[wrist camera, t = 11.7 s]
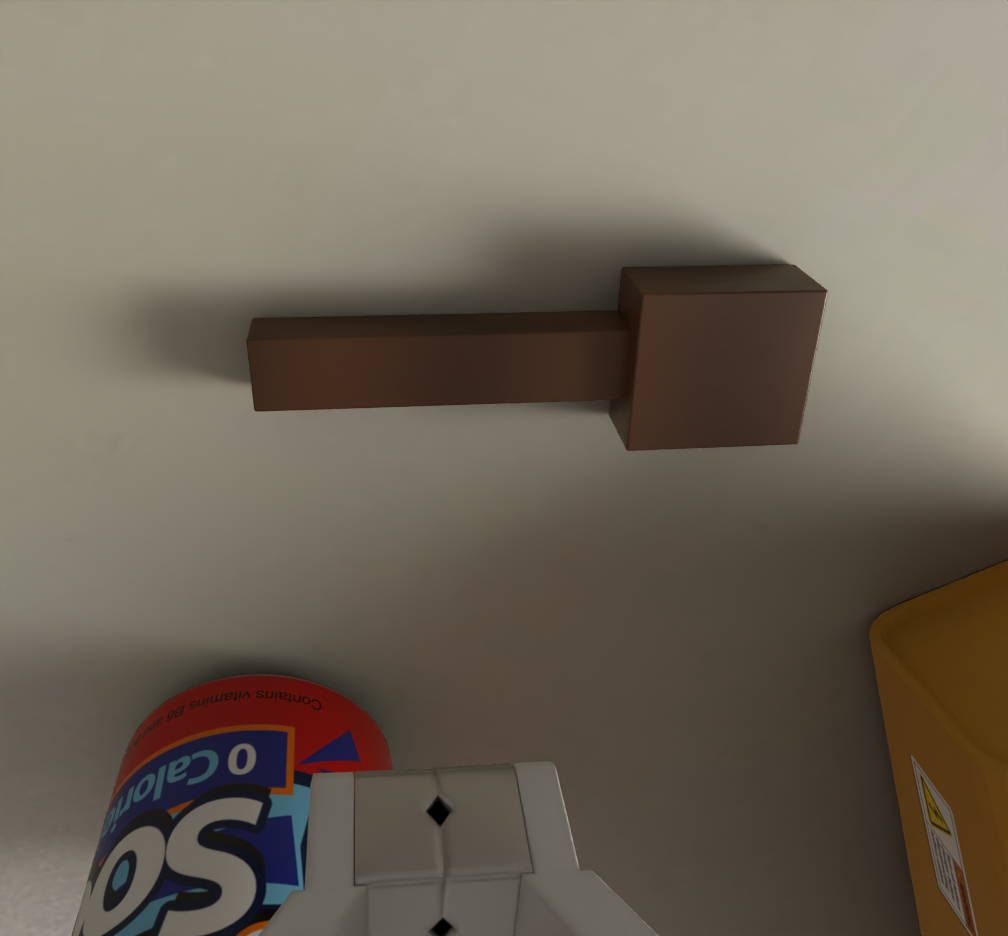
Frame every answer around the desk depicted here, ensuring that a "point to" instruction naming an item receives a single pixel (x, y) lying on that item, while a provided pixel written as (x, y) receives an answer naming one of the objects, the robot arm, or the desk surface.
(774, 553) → the desk surface
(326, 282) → the desk surface
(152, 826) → the soda can
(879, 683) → the flared yellow plastic housing
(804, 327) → the wooden mallet
